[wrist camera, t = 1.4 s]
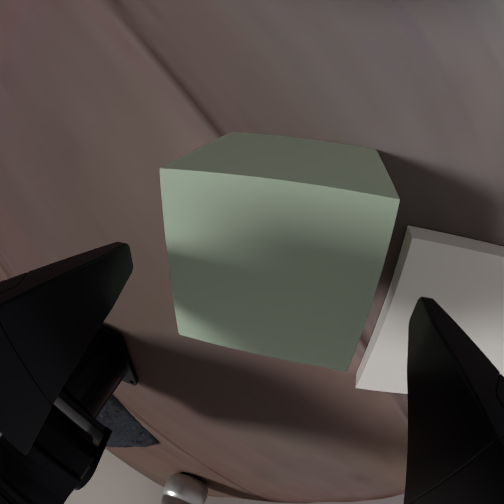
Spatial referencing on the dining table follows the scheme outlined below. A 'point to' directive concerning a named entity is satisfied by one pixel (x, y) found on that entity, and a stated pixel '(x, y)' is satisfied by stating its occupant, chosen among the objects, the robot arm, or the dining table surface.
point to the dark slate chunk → (123, 426)
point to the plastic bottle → (184, 490)
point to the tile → (445, 294)
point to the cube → (277, 244)
